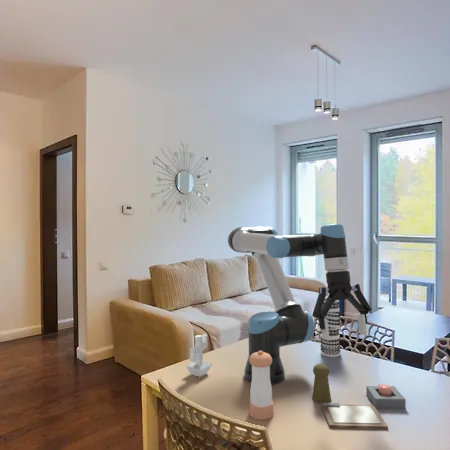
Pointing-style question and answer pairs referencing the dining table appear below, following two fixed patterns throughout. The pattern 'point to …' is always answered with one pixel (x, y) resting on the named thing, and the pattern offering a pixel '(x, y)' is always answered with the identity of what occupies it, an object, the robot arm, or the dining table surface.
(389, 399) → the button housing
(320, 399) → the pepper shaker
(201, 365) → the figurine
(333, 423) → the clipboard
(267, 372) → the pepper shaker
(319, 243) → the robot arm
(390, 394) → the button
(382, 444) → the dining table surface
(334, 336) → the decorative candle
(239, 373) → the dining table surface
